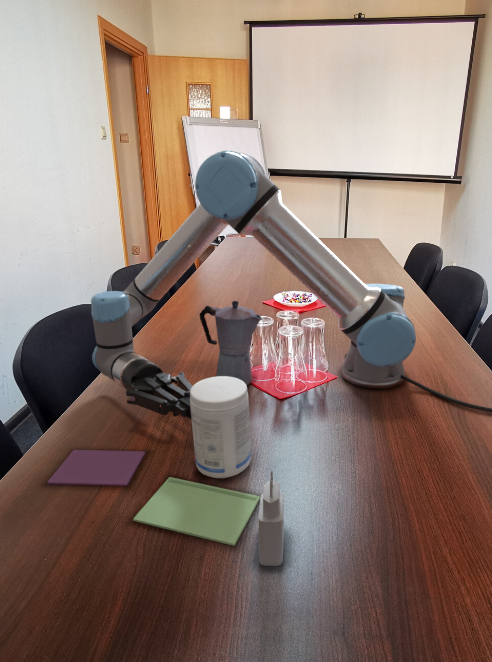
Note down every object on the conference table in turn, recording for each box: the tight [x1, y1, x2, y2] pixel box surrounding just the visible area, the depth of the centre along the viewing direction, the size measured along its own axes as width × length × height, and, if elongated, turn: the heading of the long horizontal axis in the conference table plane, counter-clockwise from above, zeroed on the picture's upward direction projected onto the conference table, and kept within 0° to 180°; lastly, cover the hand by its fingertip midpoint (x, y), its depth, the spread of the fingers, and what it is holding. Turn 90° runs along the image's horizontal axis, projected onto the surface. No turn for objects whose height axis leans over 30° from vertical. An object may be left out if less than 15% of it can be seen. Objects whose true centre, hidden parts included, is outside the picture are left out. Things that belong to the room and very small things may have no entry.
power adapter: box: [257, 470, 285, 567], centre depth 60 cm, size 3×5×12 cm, turn 179°
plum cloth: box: [46, 449, 146, 487], centre depth 78 cm, size 13×9×1 cm
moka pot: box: [199, 300, 263, 386], centre depth 107 cm, size 10×15×20 cm, turn 78°
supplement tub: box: [190, 376, 252, 479], centre depth 77 cm, size 10×10×15 cm
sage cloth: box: [132, 476, 261, 547], centre depth 69 cm, size 16×10×1 cm, turn 74°
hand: (203, 417), depth 81 cm, fingers closed
